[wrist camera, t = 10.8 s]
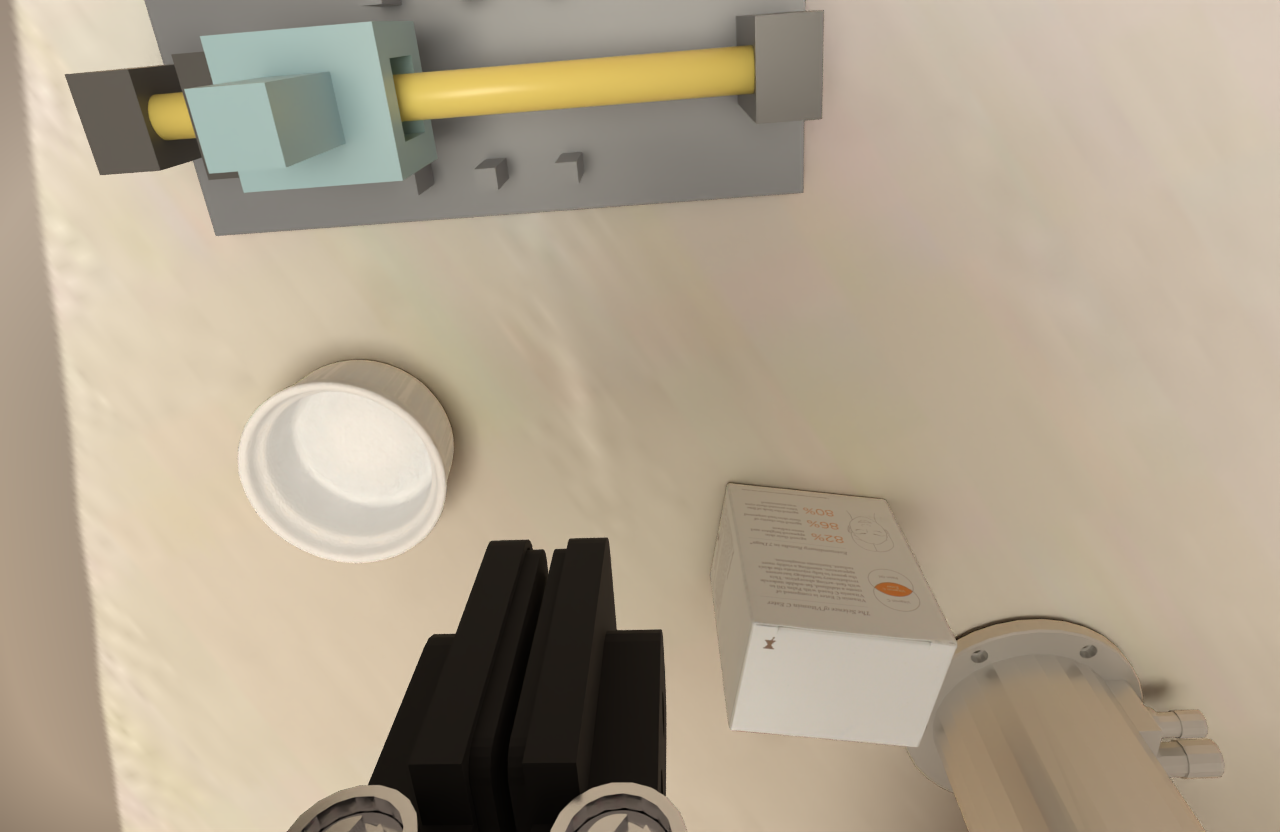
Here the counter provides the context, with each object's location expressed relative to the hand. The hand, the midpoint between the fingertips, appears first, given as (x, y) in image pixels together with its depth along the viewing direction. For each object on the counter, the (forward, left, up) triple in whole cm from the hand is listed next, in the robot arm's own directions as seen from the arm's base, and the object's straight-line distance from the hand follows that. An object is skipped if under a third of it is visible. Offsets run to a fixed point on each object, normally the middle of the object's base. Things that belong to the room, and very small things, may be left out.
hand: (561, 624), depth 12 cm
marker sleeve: (+9, -6, -21) cm, 23 cm away
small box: (-7, +16, -25) cm, 31 cm away
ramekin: (+13, +9, -25) cm, 30 cm away
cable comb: (+5, -6, -25) cm, 26 cm away
